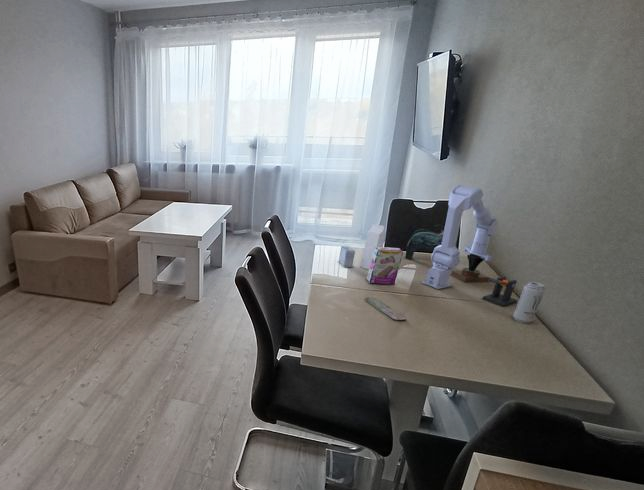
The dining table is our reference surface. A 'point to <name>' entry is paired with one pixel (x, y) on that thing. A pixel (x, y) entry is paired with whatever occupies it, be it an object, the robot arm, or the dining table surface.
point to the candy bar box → (384, 265)
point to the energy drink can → (529, 302)
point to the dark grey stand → (500, 298)
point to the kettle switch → (503, 282)
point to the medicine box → (346, 256)
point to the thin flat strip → (384, 308)
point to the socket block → (470, 276)
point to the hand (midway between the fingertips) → (471, 270)
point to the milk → (372, 243)
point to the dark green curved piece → (423, 242)
